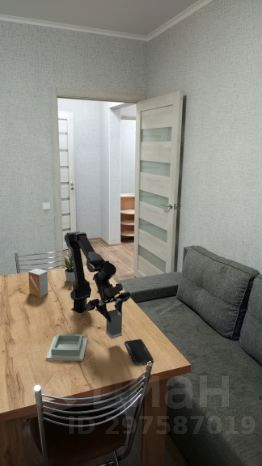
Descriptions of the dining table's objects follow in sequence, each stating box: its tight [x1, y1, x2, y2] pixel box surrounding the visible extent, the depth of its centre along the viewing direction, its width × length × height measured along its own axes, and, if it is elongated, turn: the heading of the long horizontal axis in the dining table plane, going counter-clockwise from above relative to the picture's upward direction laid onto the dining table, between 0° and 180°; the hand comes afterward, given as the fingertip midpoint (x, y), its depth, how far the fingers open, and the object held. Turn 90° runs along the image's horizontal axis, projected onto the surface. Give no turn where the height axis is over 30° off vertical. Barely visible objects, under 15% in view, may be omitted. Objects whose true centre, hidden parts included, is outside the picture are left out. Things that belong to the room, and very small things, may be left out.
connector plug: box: [105, 308, 123, 340], centre depth 134 cm, size 5×5×10 cm
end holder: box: [45, 333, 88, 362], centre depth 131 cm, size 14×14×4 cm
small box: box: [27, 267, 49, 298], centre depth 177 cm, size 8×6×13 cm
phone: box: [123, 338, 154, 366], centre depth 131 cm, size 8×1×15 cm
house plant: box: [59, 253, 84, 283], centre depth 196 cm, size 14×14×16 cm
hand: (115, 320), depth 132 cm, fingers closed on connector plug, 5 cm apart
